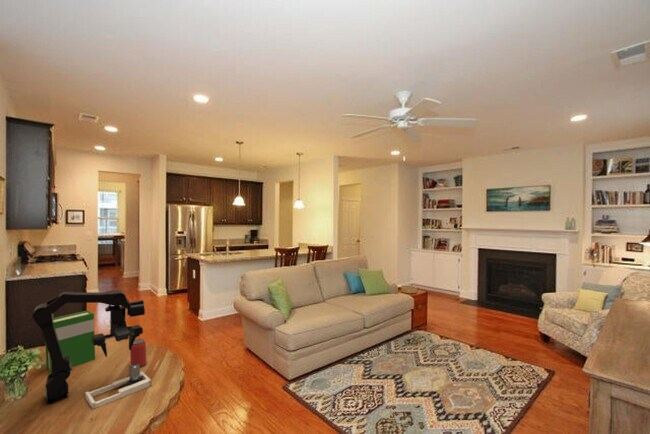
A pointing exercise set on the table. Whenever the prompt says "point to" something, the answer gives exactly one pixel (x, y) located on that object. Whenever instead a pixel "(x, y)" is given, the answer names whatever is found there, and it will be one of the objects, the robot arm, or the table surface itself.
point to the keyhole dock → (122, 392)
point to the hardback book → (75, 338)
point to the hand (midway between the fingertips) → (118, 353)
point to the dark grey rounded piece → (134, 374)
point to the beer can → (138, 352)
